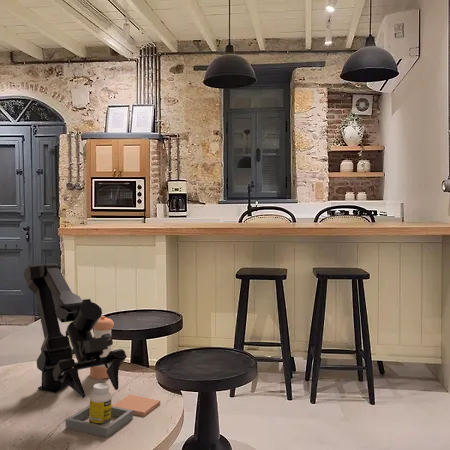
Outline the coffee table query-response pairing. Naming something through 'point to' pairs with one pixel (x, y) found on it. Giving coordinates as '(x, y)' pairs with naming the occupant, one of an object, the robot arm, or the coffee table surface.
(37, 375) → the coffee table surface
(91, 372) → the pepper shaker
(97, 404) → the supplement bottle
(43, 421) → the coffee table surface
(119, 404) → the coaster
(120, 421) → the grey square frame
